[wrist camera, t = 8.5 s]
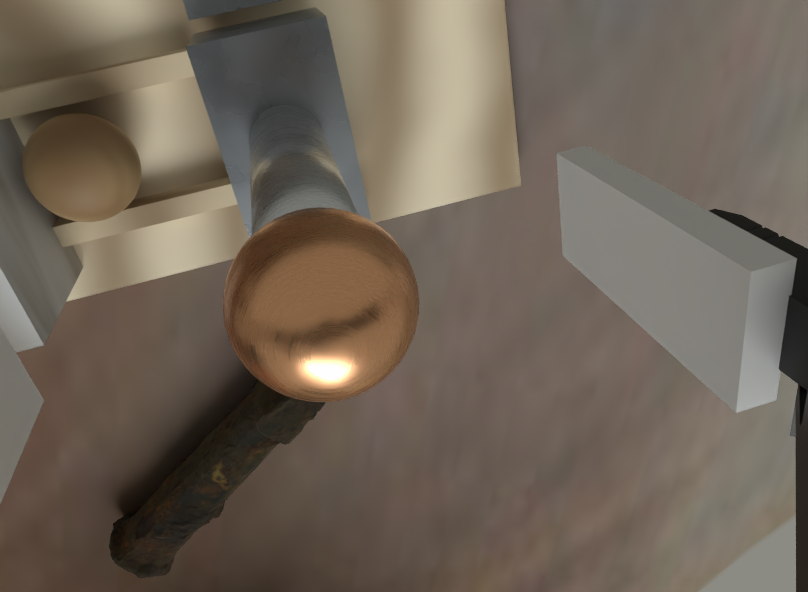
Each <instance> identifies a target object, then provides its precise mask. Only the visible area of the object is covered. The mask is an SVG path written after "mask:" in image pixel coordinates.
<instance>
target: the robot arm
mask: <svg viewBox="0 0 808 592" xmlns="http://www.w3.org/2000/svg"><path fill="white" fill-rule="evenodd" d="M557 168H558V185H559V201H560V218H561V234H562V250H563V256H564V257H565V258H566V259H567V260H568V261H569V262H571V263H572V264H573V265H574V266H575V267H576V268H577V269H578V270H579V271H580V272H582V273H583V274H584V275H585V276H586V277H587V278H588V279H589V280H590V281H591V282H593V283H594V284H595V285H596V286H597V287H598V288H599V289H600V290H601V291H602V292H604V293H605V294H606V295H607V296H608V297H609V298H610V299H611V300H612V301H613V302H615V303H616V304H617V305H618V306H619V307H620V308H621V309H622V310H623V311H624V312H626V313H627V314H628V315H629V316H630V317H631V318H632V319H633V320H634V321H635V322H637V323H638V324H639V325H640V326H641V327H642V328H643V329H644V330H645V331H646V332H648V333H649V334H650V335H651V336H652V337H653V338H654V339H655V340H656V341H657V342H659V343H660V344H661V345H662V346H663V347H664V348H665V349H666V350H667V351H668V352H670V353H671V354H672V355H673V356H674V357H675V358H676V359H677V360H678V361H679V362H681V363H682V364H683V365H684V366H685V367H686V368H687V369H688V370H689V371H690V372H692V373H693V374H694V375H695V376H696V377H697V378H698V379H699V380H700V381H702V382H703V383H704V384H705V385H706V386H707V387H708V388H709V389H710V390H711V391H713V392H714V393H715V394H716V395H717V396H718V397H719V398H720V399H721V400H722V401H724V402H725V403H726V404H727V405H728V406H729V407H730V408H731V409H732V410H733V411H735V412H736V413H737V412H741V411H744V410H747V409H750V408H753V407H756V406H759V405H762V404H766V403H769V402H772V401H775V400H776V399H777V392H778V385H779V378H780V371H782V372H783V373H784V374H786V375H787V376H788V377H790V378H791V379H792V380H794V381H795V382H796V383H798V390H797V396H796V402H795V408H794V414H793V420H792V426H791V432H790V436H795V437H796V592H808V249H807V248H805V247H803V246H801V245H799V244H797V243H795V242H793V241H791V240H789V239H787V238H785V237H783V236H781V237H779V236H778V234H777V233H776V232H774V231H772V230H770V229H768V228H762V225H760V224H758V223H756V222H754V221H752V220H750V219H748V218H746V217H744V216H742V215H739V214H734V213H730V212H726V211H722V210H718V209H713V210H709V211H708V210H706V209H704V208H702V207H700V206H698V205H697V204H695V203H693V202H691V201H689V200H687V199H685V198H683V197H682V196H680V195H678V194H676V193H674V192H672V191H670V190H669V189H667V188H665V187H663V186H661V185H659V184H657V183H656V182H654V181H652V180H650V179H648V178H646V177H644V176H643V175H641V174H639V173H637V172H635V171H633V170H631V169H630V168H628V167H626V166H624V165H622V164H620V163H618V162H617V161H615V160H613V159H611V158H609V157H607V156H605V155H603V154H602V153H600V152H598V151H596V150H594V149H592V148H590V147H589V146H587V145H586V146H582V147H578V148H574V149H570V150H567V151H563V152H559V153H557ZM43 402H44V400H43V398H42V396H41V395H40V393H39V391H38V389H37V388H36V386H35V384H34V383H33V381H32V379H31V378H30V376H29V374H28V373H27V371H26V369H25V368H24V366H23V364H22V363H21V361H20V359H19V357H18V356H17V354H16V352H15V351H14V349H13V347H12V346H11V344H10V342H9V341H8V339H7V337H6V336H5V334H4V332H3V331H2V329H1V327H0V504H1V501H2V499H3V497H4V494H5V492H6V489H7V487H8V485H9V482H10V480H11V478H12V475H13V473H14V470H15V468H16V466H17V463H18V461H19V459H20V456H21V454H22V451H23V449H24V447H25V444H26V442H27V440H28V437H29V435H30V432H31V430H32V428H33V425H34V423H35V421H36V418H37V416H38V413H39V411H40V409H41V406H42V404H43Z"/></svg>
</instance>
